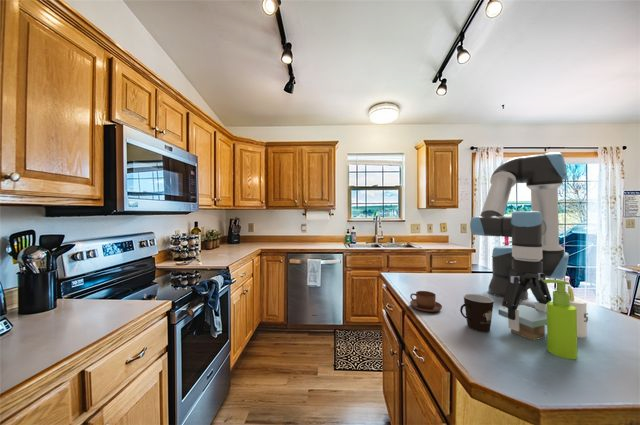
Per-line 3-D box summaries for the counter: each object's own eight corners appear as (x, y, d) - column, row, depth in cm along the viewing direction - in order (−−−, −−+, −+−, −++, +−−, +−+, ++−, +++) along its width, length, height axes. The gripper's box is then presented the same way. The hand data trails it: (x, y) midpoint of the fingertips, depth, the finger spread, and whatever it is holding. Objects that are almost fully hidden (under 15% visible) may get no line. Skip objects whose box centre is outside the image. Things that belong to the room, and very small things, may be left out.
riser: (523, 328, 82) (523, 316, 82) (544, 337, 76) (544, 324, 76) (511, 331, 80) (511, 319, 80) (531, 340, 75) (531, 327, 75)
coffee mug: (484, 322, 87) (484, 294, 87) (500, 334, 78) (499, 303, 78) (450, 321, 88) (450, 293, 88) (461, 332, 79) (461, 301, 79)
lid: (523, 310, 85) (523, 304, 85) (558, 322, 76) (558, 316, 76) (498, 314, 81) (498, 309, 81) (532, 327, 72) (532, 321, 72)
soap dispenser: (538, 345, 72) (538, 276, 72) (569, 349, 69) (568, 278, 69) (549, 355, 66) (548, 281, 66) (582, 361, 64) (581, 284, 64)
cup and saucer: (410, 312, 97) (410, 296, 97) (409, 302, 108) (409, 288, 108) (444, 316, 93) (444, 300, 93) (439, 305, 104) (439, 290, 104)
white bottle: (581, 339, 75) (581, 290, 75) (554, 330, 81) (554, 284, 81) (592, 335, 77) (591, 288, 78) (565, 326, 83) (564, 282, 84)
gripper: (538, 254, 86) (539, 316, 86) (487, 259, 78) (488, 327, 78) (565, 258, 79) (566, 325, 79) (512, 264, 71) (513, 338, 71)
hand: (527, 326), depth 79 cm, fingers closed on lid, 12 cm apart
